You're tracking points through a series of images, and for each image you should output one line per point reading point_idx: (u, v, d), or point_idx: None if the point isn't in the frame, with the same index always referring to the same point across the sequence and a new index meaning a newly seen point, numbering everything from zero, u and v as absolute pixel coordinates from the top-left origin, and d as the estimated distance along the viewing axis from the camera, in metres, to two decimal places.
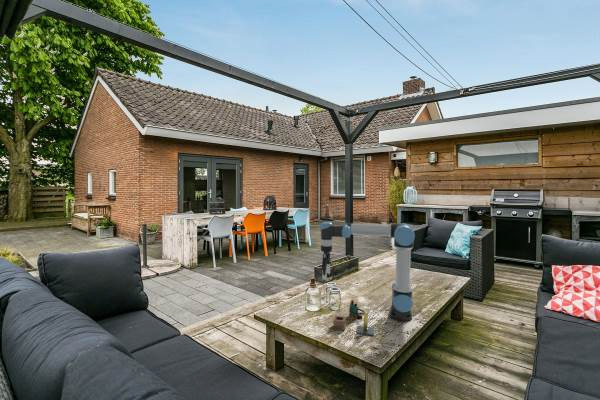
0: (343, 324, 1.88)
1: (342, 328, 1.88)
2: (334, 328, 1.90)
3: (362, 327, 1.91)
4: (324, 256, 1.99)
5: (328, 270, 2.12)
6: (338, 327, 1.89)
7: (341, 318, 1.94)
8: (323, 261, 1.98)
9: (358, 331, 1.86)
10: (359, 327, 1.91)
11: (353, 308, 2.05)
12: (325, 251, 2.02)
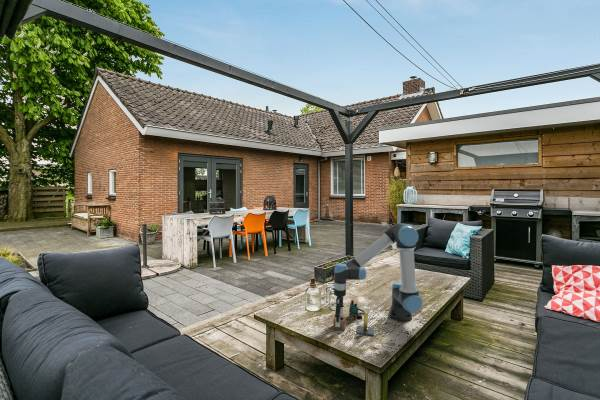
0: (343, 324, 1.88)
1: (342, 328, 1.88)
2: (334, 328, 1.90)
3: (362, 327, 1.91)
4: (338, 302, 1.85)
5: (341, 314, 1.98)
6: (338, 327, 1.89)
7: (341, 318, 1.94)
8: (337, 307, 1.84)
9: (358, 331, 1.86)
10: (359, 327, 1.91)
11: (353, 308, 2.05)
12: (339, 296, 1.87)
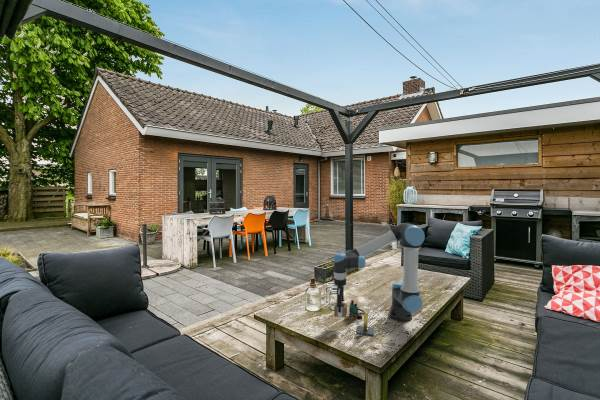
0: (344, 310, 1.88)
1: (343, 314, 1.88)
2: (335, 315, 1.89)
3: (362, 327, 1.91)
4: (338, 293, 1.84)
5: None
6: None
7: (342, 305, 1.93)
8: (338, 298, 1.85)
9: (358, 331, 1.86)
10: (359, 327, 1.91)
11: (353, 308, 2.05)
12: (339, 285, 1.87)
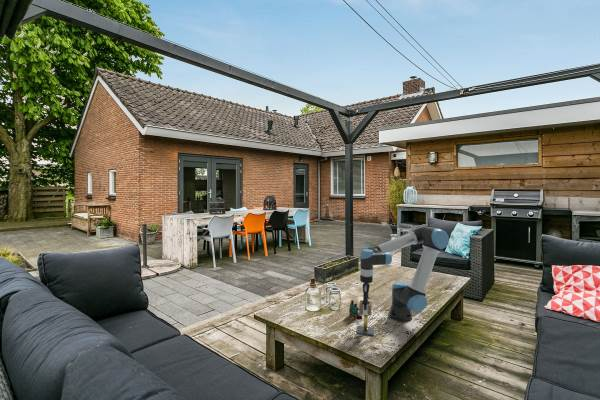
0: (369, 308, 1.83)
1: (368, 312, 1.83)
2: (360, 312, 1.84)
3: (362, 327, 1.91)
4: (365, 290, 1.80)
5: None
6: None
7: None
8: (364, 295, 1.80)
9: (358, 331, 1.86)
10: (359, 327, 1.91)
11: (353, 308, 2.05)
12: (366, 282, 1.82)
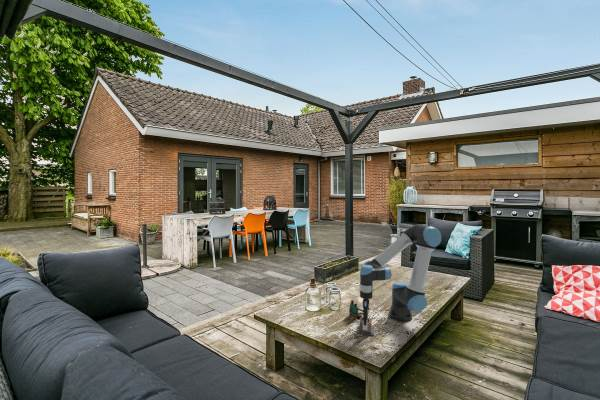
0: (370, 326, 1.83)
1: (369, 330, 1.84)
2: (360, 330, 1.85)
3: None
4: (365, 304, 1.80)
5: None
6: None
7: None
8: (364, 310, 1.79)
9: (358, 331, 1.86)
10: None
11: (353, 308, 2.05)
12: (365, 298, 1.83)
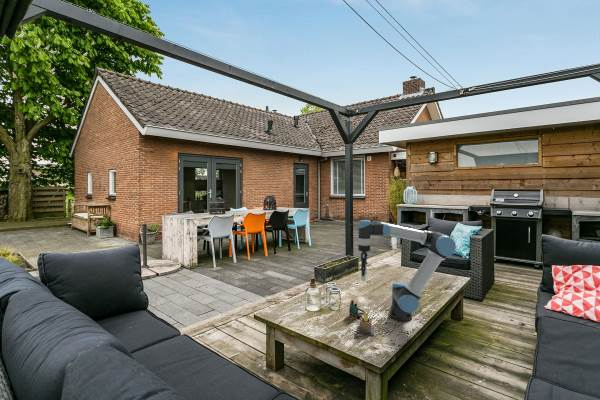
0: (370, 326, 1.83)
1: (369, 330, 1.84)
2: (360, 330, 1.85)
3: None
4: (363, 256, 1.88)
5: None
6: (364, 329, 1.84)
7: None
8: (362, 261, 1.87)
9: (358, 331, 1.86)
10: None
11: (353, 308, 2.05)
12: (363, 251, 1.91)
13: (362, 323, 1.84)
